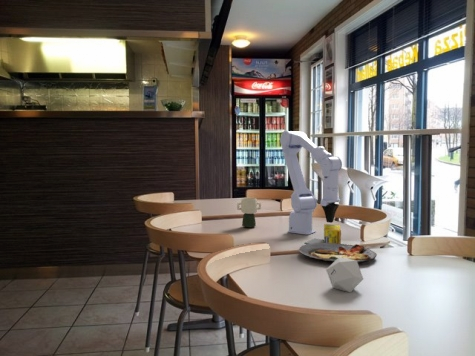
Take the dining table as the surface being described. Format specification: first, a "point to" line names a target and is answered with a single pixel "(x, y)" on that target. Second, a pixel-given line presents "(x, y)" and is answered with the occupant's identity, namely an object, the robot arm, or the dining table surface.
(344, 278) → the die
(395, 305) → the dining table surface
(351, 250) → the food plate
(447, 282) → the dining table surface
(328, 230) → the supplement box
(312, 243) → the mat
